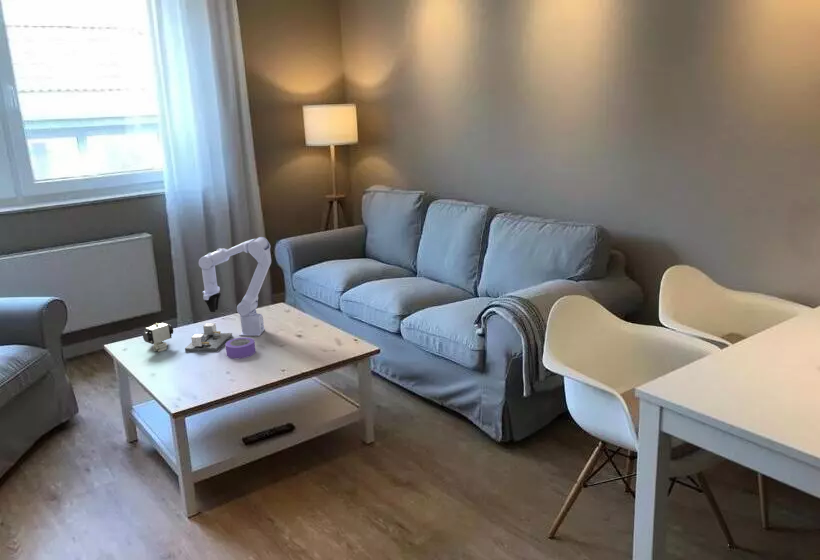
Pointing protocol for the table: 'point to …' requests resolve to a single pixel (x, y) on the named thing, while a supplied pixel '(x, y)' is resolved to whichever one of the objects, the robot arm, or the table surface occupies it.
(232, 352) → the tape roll
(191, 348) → the bolt plate
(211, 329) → the sliding block
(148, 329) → the pneumatic valve
